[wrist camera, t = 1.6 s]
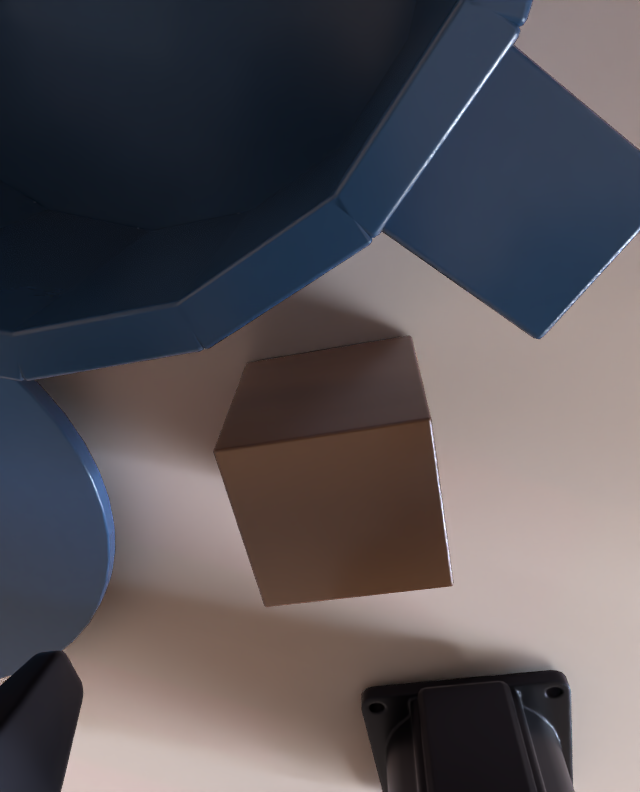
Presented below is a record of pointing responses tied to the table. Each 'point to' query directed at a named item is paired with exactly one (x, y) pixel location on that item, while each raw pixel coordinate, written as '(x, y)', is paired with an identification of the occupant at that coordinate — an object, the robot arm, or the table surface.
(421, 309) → the table surface
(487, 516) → the table surface
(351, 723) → the table surface
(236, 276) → the pot
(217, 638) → the table surface
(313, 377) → the block
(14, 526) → the lid
